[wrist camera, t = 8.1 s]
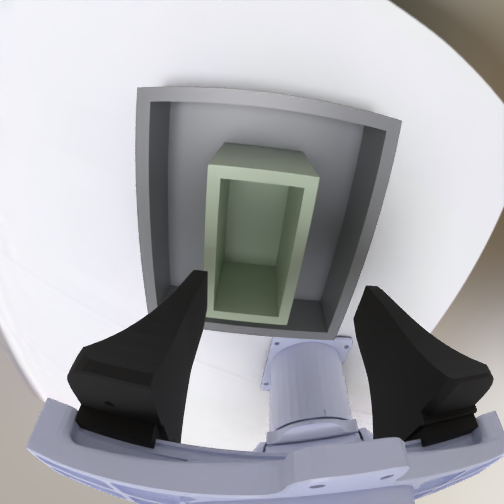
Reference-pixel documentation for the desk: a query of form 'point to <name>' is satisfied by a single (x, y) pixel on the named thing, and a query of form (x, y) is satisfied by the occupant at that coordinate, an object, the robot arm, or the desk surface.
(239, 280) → the sage crate
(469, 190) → the desk surface
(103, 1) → the desk surface
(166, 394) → the robot arm
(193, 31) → the desk surface
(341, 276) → the charcoal crate
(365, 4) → the desk surface
